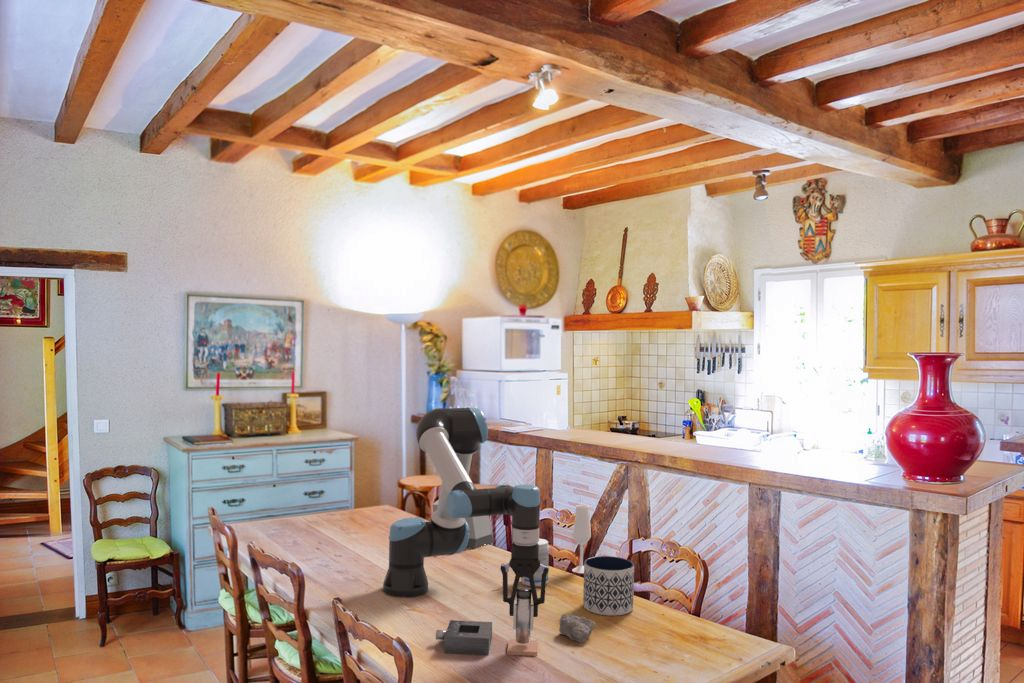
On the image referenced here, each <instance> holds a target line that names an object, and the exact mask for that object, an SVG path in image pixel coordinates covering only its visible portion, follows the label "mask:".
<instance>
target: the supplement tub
mask: <svg viewBox="0 0 1024 683" xmlns="http://www.w3.org/2000/svg"><path fill="white" fill-rule="evenodd" d="M537 543H538V544H539V561H540V564H542V565H544V566H546V565H547V566H548V567H549V560H550V558H549V556H550V555H549V551H550V548H549V541H548V540H547V539H544V538H539V542H537ZM541 578H542V573H541V572H540V568H538V570H537V571H536V572H535V574H534V581H535V586H536V588H537V587H538V588H539V587H541ZM520 579H521V580H520V581H521V583H522V585H524V586H529V587H530V582H529V578H527V577H520ZM548 583H549V572H548V573H547V576H546V585H547V584H548Z"/></svg>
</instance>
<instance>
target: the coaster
mask: <svg viewBox="0 0 1024 683" xmlns="http://www.w3.org/2000/svg"><path fill="white" fill-rule="evenodd" d="M507 643H508V644H507V652H506V653H507V654H506V655H510V656H511V655H513V656H532V657H533V656H534V657H536V656H538V645H539V644H538V643H539V642H538V640H535V639H530V642H529V643H526V644H521V643H517V642H516V638H514V639H512V638H511V639H510V638H509V639H508V642H507Z"/></svg>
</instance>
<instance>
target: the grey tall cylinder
mask: <svg viewBox="0 0 1024 683" xmlns="http://www.w3.org/2000/svg"><path fill="white" fill-rule="evenodd" d="M516 602H517V608H516V629H515V640H516V642H517V643H521V644H526V643H529V642H530V640H531V630H530V621H531V603H532V593H531V587H525V586H523V587H517V592H516Z"/></svg>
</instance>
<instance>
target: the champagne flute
mask: <svg viewBox="0 0 1024 683" xmlns="http://www.w3.org/2000/svg"><path fill="white" fill-rule="evenodd" d="M590 513H591V512H590V505H587V504H576V506H575V514H574V523H573V532H572V536H573V539H574V541H576V542H577V544H578V545H579V565H577V566H576V567H574V568H572V570H571V571H572V572H573V573H577V574H584V545H585V544H586V543H588V542H589V541H590V539H591V538H592V533H591V532H592V531H591V518H590V517H591V516H590V515H591V514H590Z"/></svg>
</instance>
